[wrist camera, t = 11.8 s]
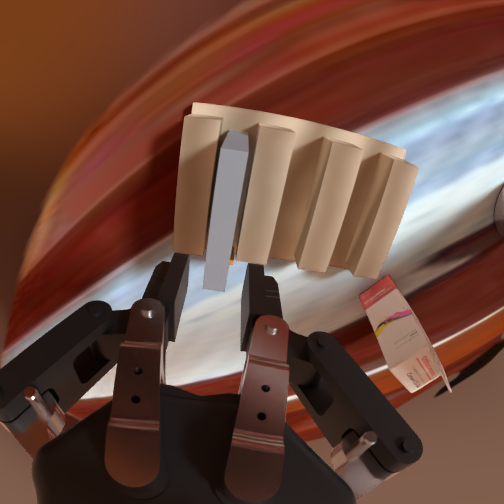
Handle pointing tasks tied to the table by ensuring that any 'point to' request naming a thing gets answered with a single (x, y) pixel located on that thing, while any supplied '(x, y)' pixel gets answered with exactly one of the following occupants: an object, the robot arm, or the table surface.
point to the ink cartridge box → (401, 336)
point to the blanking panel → (225, 208)
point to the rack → (294, 191)
